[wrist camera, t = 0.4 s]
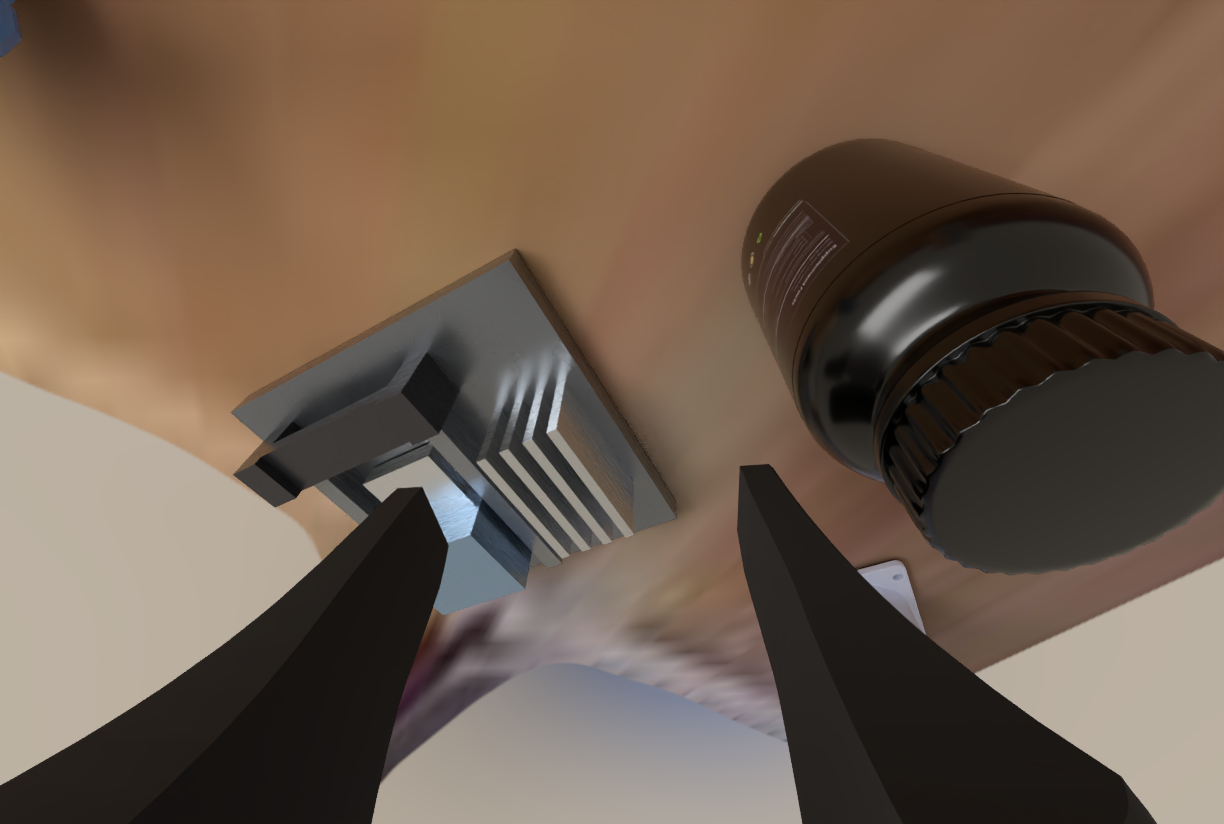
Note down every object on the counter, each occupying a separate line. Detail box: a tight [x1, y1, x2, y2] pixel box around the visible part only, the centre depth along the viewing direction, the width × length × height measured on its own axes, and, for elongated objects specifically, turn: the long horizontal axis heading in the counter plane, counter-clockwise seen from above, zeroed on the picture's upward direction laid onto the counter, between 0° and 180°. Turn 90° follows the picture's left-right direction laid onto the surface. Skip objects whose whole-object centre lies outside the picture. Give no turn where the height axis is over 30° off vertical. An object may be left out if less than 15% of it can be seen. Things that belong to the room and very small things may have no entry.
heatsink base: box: [230, 249, 677, 568], centre depth 22 cm, size 14×14×4 cm
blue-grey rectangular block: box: [363, 443, 532, 615], centre depth 23 cm, size 7×5×3 cm, turn 28°
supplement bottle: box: [742, 139, 1224, 575], centre depth 13 cm, size 7×7×12 cm
